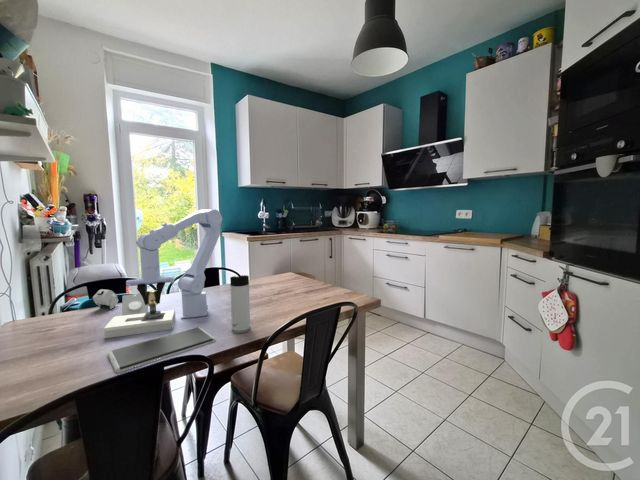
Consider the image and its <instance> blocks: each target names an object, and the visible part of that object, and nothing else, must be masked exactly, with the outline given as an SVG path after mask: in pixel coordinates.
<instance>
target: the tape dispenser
mask: <svg viewBox="0 0 640 480" xmlns="http://www.w3.org/2000/svg"><path fill="white" fill-rule="evenodd" d="M92 300H93V302H94V304H95V305H97V306H98V308H99V309H105V310H106V309H107V310H112V308H113V309H114V308H115V307H116V305H117V304H118V302H119V299H118V295H117V293H115V292H114V291H113V290H110V289H103V288H101V289H99V290H97V292H96V293H95V294H94V295H93V296H92ZM114 306H115V307H114Z"/></svg>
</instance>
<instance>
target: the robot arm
mask: <svg viewBox="0 0 640 480" xmlns="http://www.w3.org/2000/svg"><path fill="white" fill-rule="evenodd" d="M222 221H223V217H222V214H221V213H220V211H219V210H217V209H215V208H214V209H202V208H201V209H199V210H196V211H193V212H192V213H190V214H189V215H187V216H185V217H183V218H182V219H180V220H178V221H176V222H174V223H171V222H167V223H166V222H163V223H161V226H159V227H157V228H155V229H150V230H149V233H142V234H140V235H139V236H138V238H137V239H136V240H137V241H136V242H135V243H136V245H137V247H138V249H139V253H140V255H139V256H140V257H139V258H140V269H141V271H140V272H141V278H137V279H128V280H127V281H126V287H128V288H129V287H130V288H131V287H137V291H138V293H140V294H141V296H142V297H143V300H144V303H145V305H147V291H148V285H156V287H155V288H156V290H157V304H158V305H159V304H161V296H162V292H163V290H164V288H165V285H166V284H168V283H170V284H172V283H175V277H174V276H161V268H160V267H161V266H160V253H159V248H161V246H162V245H163V244H165V243H166V242H169V241H171V240H172V239H174V238H176V237H178V235H179V232H180V231H182V230H185V229H188V227H191V226H193V225H195V224H199V226H200V227H201V228H202V229H203V230H204V233H205V235H204V236H203V239H202V241H201V243H200V245H199V248H198V250H197V252H196V254H195V256H194V258H193V261H192V263H191V266H190V267H189V268H188V269H187V270H186V271H184V273H183V275H182V276H181V277H180V278H179V279H178V281H177V287H178V288H179V290H180V291H181V309H182V311H181V315H180V319H187V318H197V317H205V316H208V307H209V306H208V301H207V300H208V299H207V291H203V290H204V288H205V281H206V275H205V271H206V268H207V265H208V263H209V261H210V258H211V256H212V254H213V251H214V250H215V246H216V245H217V242H218V240H219V238H220V235H221V224H222Z"/></svg>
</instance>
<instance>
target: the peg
mask: <svg viewBox="0 0 640 480" xmlns="http://www.w3.org/2000/svg"><path fill="white" fill-rule="evenodd" d="M147 305H148V307H149V311H148V312H147V313H146V314H145V315H146V319H156V318H159V317H160V316H161V310H157V306H158V305H159V304H157V289H156V290H155V289H154V290H153V289H152V290H147Z"/></svg>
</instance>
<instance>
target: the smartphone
mask: <svg viewBox="0 0 640 480" xmlns="http://www.w3.org/2000/svg"><path fill="white" fill-rule="evenodd" d="M215 341H216V338H215V337H214V336H213V335H211V334H210V333H209V332H208V331H205V330H204V329H203V328H202V327H200V326H198V327H194V328H190V329H187V330H183V331H178V332H175V333H173V334H169V335H164V336H161V337H158V338H154V339H150V340H146V341H142V342H138V343H135V344H131V345H129V346H124V347H121V348H116V349H113V350H111V351H108V352H107V357H108V359H109V361H110V364H111V365H112V369H113V370H114V372H115V373H116V372H117V374H119V373H120V374H121V373H122V371H123V372H126V371H128V370H127V369H129V370H131V369H130V368H132V367H135V366H138V365H141V366H143V365H142V364H144V365H146V364H145V363H147V364H149V363H148V362H150V363H152V362H151V361H154V360H157V359H159V358H163V359H165V358H164V357H166V358H168V356H169V357H171V355H172V356H174V354H175V355H178V354H180V352H181V353H184V352H187V351H190V350H193V349H196V348H199V347H203V346H205V344H206V345H208V344H211V343H214V342H215ZM183 351H184V352H183ZM177 353H178V354H177ZM157 361H158V360H157ZM154 362H155V361H154ZM138 367H139V366H138ZM135 368H136V367H135ZM132 369H133V368H132ZM125 370H126V371H125Z"/></svg>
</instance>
